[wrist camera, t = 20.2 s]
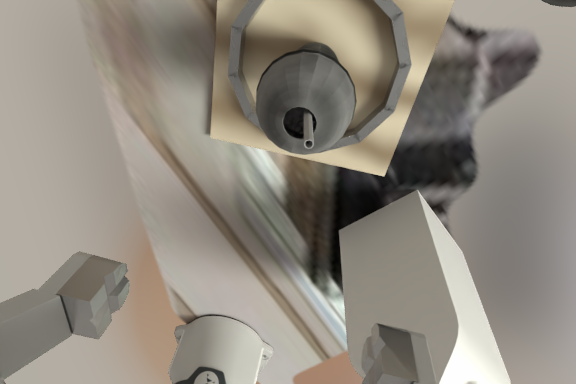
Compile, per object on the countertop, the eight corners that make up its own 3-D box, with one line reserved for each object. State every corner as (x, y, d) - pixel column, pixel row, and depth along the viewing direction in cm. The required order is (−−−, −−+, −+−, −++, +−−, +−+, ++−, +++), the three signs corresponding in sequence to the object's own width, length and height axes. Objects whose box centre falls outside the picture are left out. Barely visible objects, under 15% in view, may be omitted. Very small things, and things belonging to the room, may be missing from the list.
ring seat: (383, 172, 40) (386, 184, 38) (212, 134, 40) (205, 144, 38) (466, -37, 28) (476, -37, 26) (224, -89, 29) (215, -94, 26)
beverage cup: (264, 60, 34) (192, 143, 17) (322, 8, 31) (301, 49, 14) (309, 115, 37) (282, 233, 20) (366, 72, 33) (392, 171, 17)
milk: (338, 230, 46) (337, 460, 24) (417, 189, 41) (502, 433, 19) (385, 282, 50) (419, 518, 28) (461, 251, 45) (573, 508, 23)
